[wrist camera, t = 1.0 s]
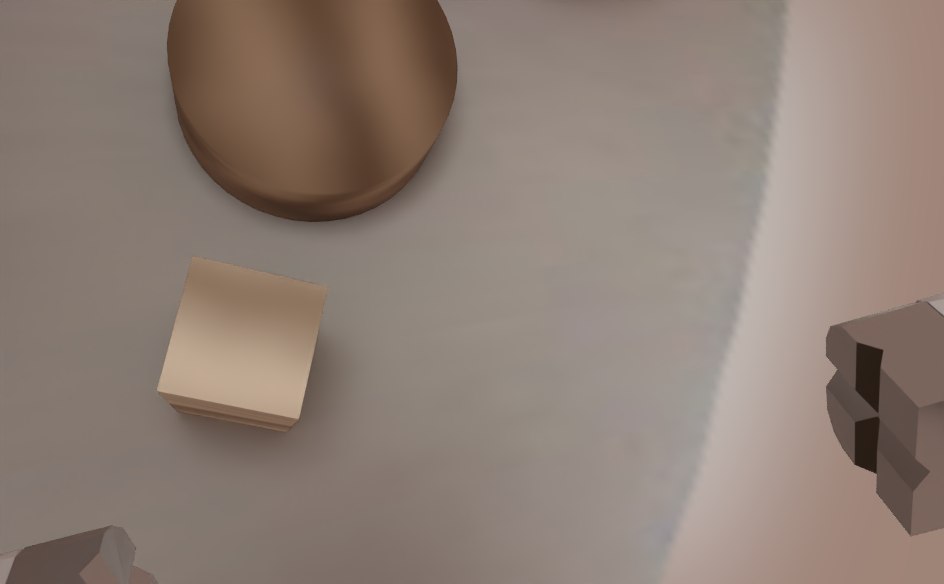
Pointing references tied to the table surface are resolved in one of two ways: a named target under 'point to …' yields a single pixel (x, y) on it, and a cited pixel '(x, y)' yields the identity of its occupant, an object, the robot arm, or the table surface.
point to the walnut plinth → (311, 98)
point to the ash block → (242, 345)
